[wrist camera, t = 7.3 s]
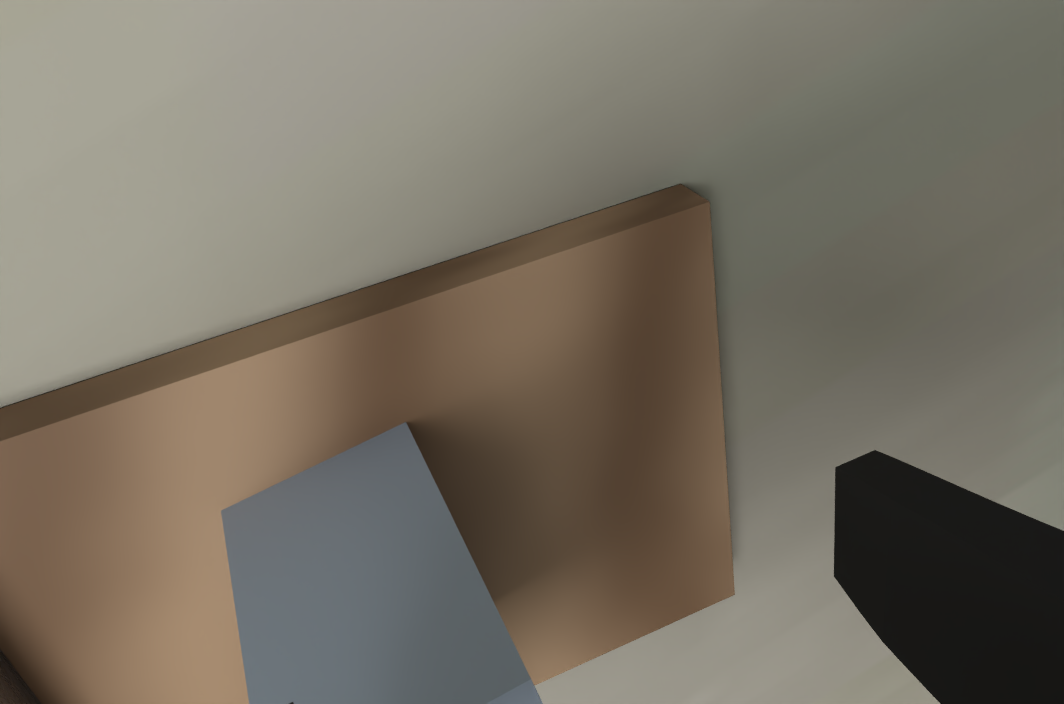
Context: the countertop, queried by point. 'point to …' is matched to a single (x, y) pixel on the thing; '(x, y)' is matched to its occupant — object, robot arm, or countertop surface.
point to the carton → (365, 589)
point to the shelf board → (367, 411)
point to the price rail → (13, 685)
